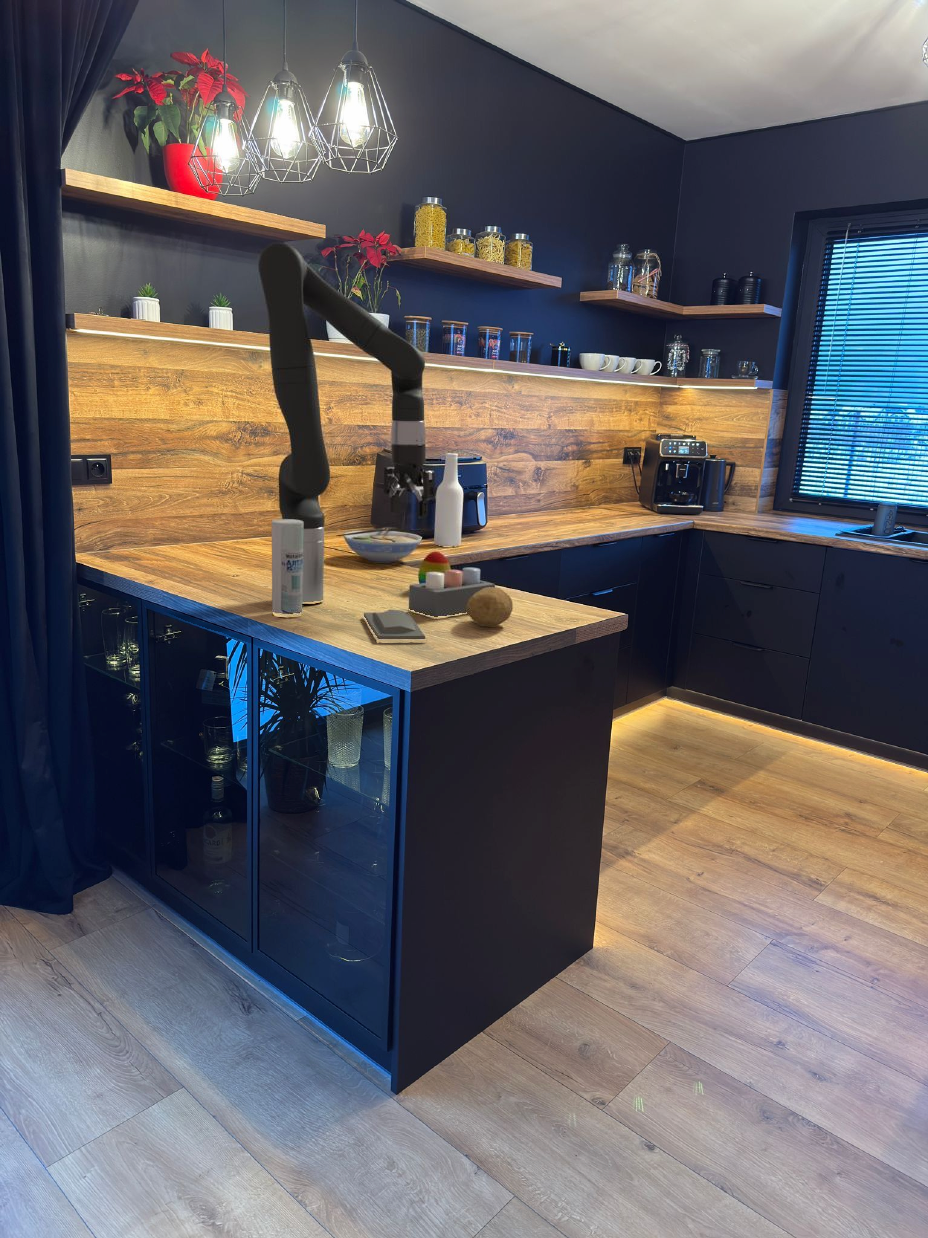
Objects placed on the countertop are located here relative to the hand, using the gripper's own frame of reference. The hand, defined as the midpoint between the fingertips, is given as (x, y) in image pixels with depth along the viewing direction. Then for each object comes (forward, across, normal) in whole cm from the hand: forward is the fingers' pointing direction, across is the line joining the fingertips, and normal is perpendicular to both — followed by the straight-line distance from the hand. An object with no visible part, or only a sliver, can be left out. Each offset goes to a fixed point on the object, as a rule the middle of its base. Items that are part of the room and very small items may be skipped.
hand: (409, 515), depth 196 cm
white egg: (+18, +9, -1) cm, 20 cm away
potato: (+22, +23, +2) cm, 31 cm away
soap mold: (+21, +14, -18) cm, 31 cm away
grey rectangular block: (+21, +9, +5) cm, 23 cm away
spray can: (+19, -8, -28) cm, 35 cm away
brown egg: (+18, +9, +5) cm, 21 cm away
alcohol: (+22, -58, +71) cm, 94 cm away
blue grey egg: (+18, +9, +10) cm, 23 cm away
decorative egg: (+21, -8, +16) cm, 28 cm away
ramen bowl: (+21, -47, +33) cm, 61 cm away
